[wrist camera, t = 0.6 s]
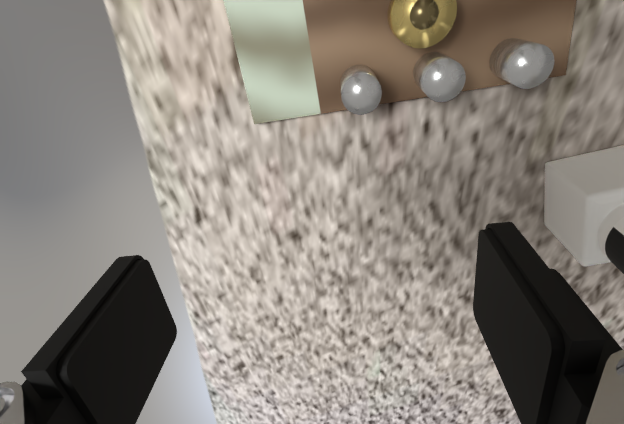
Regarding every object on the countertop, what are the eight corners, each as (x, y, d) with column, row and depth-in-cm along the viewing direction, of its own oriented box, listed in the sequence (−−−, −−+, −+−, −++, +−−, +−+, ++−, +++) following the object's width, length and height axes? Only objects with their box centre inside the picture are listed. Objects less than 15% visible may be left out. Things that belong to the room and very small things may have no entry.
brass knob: (385, -16, 28) (389, -17, 26) (447, -28, 28) (457, -30, 26) (389, 49, 31) (394, 53, 28) (447, 38, 30) (456, 42, 28)
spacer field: (320, -65, 27) (318, -73, 24) (545, -113, 25) (579, -130, 22) (342, 104, 33) (344, 117, 29) (527, 74, 31) (551, 85, 28)
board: (214, -48, 29) (211, -50, 28) (588, -130, 25) (595, -134, 25) (255, 121, 35) (254, 124, 34) (560, 73, 32) (565, 75, 31)
